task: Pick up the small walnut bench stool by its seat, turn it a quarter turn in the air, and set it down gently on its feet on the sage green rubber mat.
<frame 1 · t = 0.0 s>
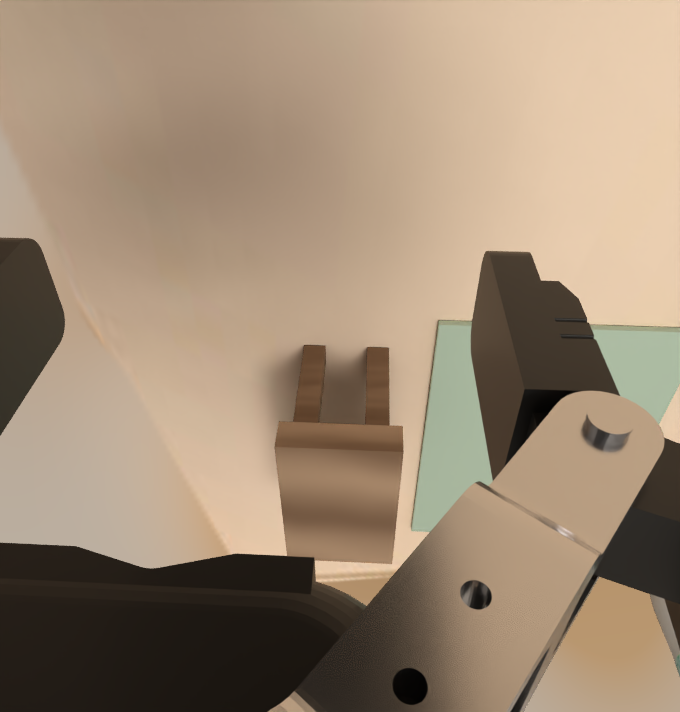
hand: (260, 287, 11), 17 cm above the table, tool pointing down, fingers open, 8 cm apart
mat: (531, 444, 40), on the table
stool: (346, 400, 38), on the table
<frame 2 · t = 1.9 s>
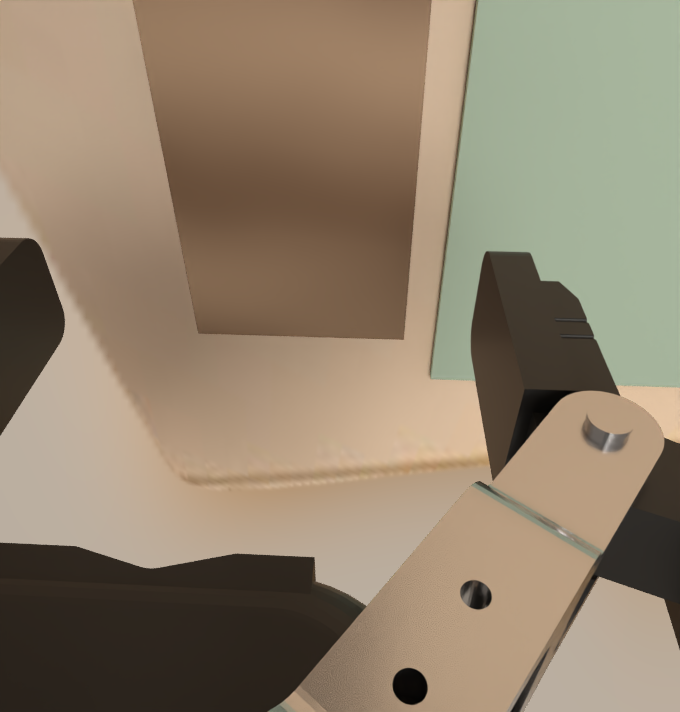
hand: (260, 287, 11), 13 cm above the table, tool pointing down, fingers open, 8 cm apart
mat: (647, 177, 22), on the table
stool: (317, 71, 21), on the table
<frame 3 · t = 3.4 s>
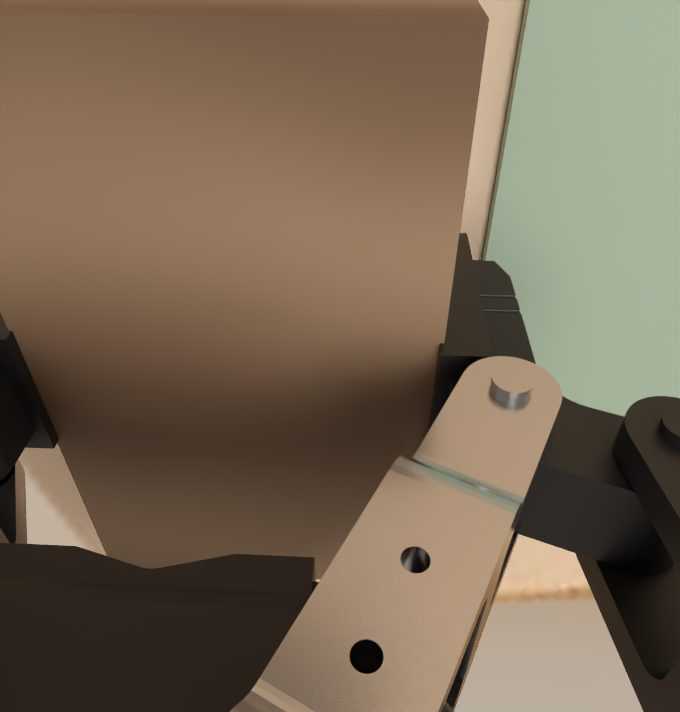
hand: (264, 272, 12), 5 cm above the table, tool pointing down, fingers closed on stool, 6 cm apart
stool: (291, 172, 15), on the table, touching gripper
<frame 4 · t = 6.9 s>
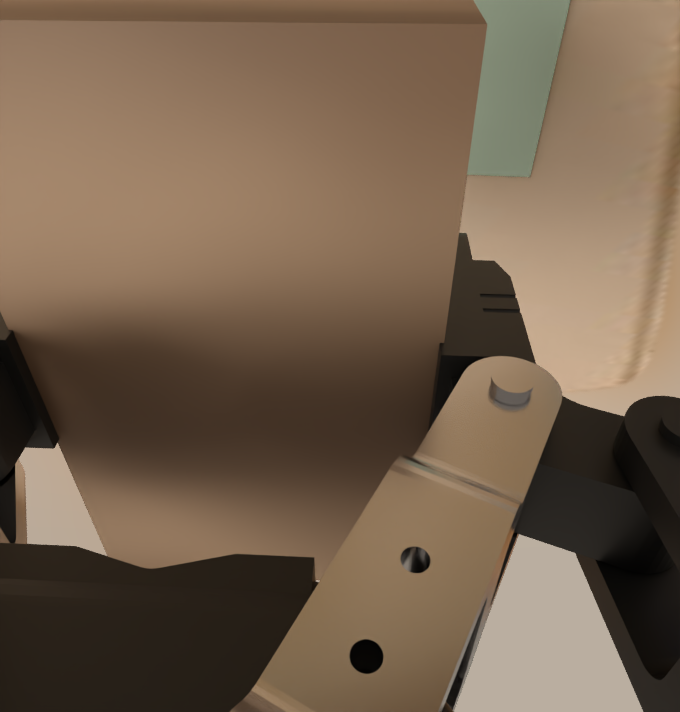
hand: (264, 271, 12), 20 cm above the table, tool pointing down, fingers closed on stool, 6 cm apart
mat: (328, 7, 26), on the table
stool: (291, 174, 15), point 15 cm above the table, touching gripper
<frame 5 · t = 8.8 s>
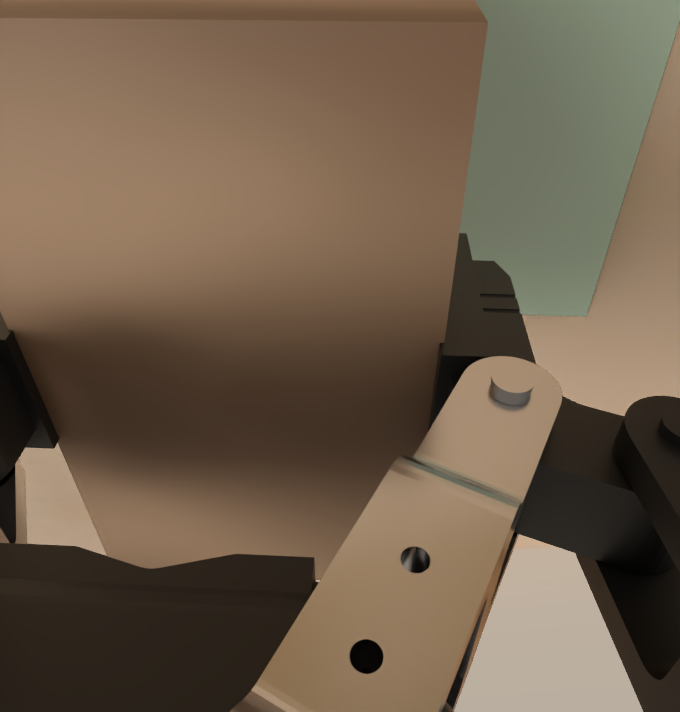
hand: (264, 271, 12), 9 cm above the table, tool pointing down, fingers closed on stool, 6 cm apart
mat: (308, 112, 19), on the table
stool: (291, 173, 15), point 4 cm above the table, touching gripper
when the fingers open (6 cm above the table, at t = 10.3 s): stool stays where it is, resting on mat.
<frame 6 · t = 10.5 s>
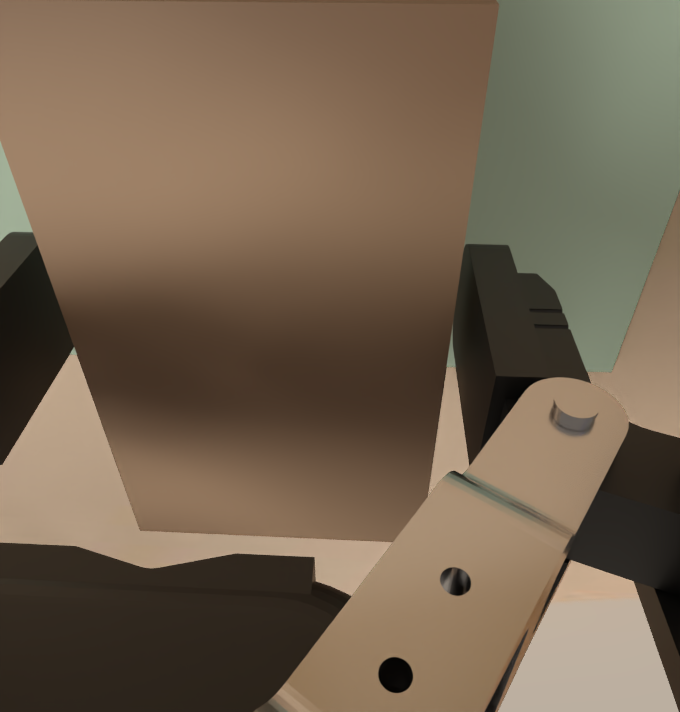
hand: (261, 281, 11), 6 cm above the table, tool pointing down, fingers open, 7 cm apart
mat: (297, 151, 16), on the table
stool: (306, 159, 16), resting on mat
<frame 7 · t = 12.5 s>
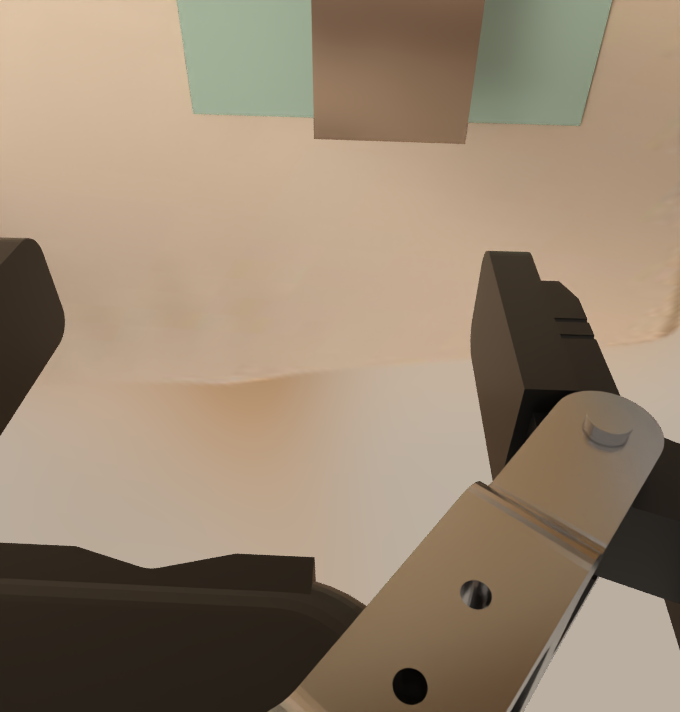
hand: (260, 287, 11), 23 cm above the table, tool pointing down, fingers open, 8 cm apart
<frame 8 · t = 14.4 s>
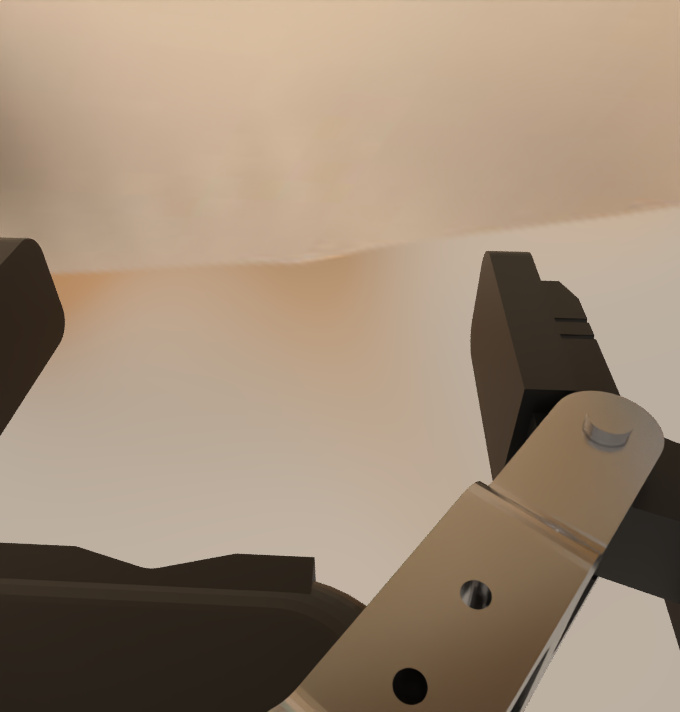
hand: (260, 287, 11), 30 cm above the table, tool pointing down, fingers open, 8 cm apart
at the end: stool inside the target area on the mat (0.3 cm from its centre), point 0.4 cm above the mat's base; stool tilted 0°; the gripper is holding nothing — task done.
